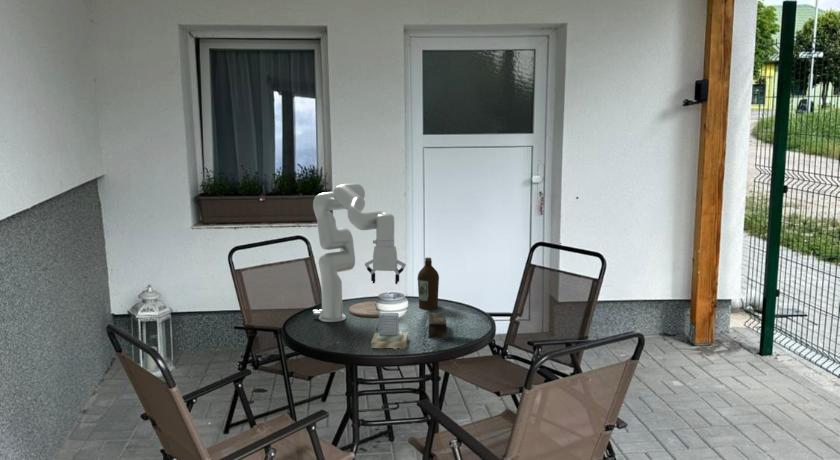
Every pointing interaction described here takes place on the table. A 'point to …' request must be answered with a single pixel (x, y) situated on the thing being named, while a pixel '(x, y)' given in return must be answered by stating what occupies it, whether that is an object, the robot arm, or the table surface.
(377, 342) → the plinth
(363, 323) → the table surface
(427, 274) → the olive oil
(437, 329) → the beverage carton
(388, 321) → the medicine box
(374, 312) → the trivet
